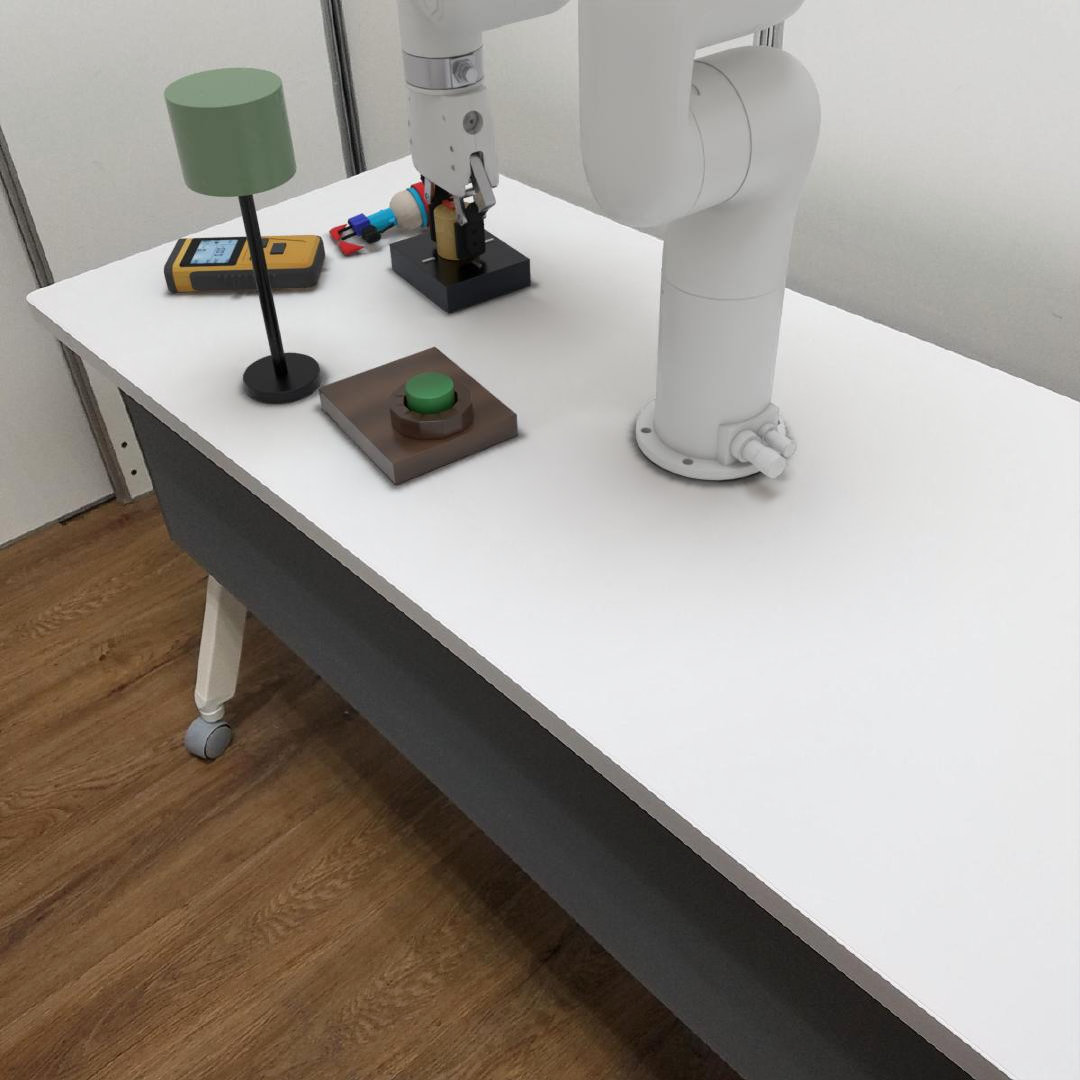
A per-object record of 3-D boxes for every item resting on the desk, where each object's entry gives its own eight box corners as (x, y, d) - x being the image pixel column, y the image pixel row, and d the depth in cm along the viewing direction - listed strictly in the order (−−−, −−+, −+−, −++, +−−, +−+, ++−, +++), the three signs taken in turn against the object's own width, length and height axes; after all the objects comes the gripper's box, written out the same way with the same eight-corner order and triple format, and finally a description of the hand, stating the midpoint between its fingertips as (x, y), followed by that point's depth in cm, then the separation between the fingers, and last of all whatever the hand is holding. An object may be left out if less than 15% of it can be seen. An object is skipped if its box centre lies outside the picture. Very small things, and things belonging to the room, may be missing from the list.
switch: (463, 405, 95) (462, 387, 94) (422, 421, 94) (420, 403, 92) (439, 384, 98) (438, 367, 97) (398, 400, 96) (396, 382, 95)
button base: (518, 435, 98) (516, 396, 95) (395, 485, 93) (390, 445, 90) (437, 366, 107) (433, 328, 104) (321, 408, 102) (314, 370, 99)
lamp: (348, 388, 104) (300, 89, 87) (257, 421, 101) (188, 116, 83) (307, 347, 110) (254, 59, 93) (219, 377, 106) (147, 83, 89)
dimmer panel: (531, 285, 119) (530, 257, 117) (448, 313, 114) (446, 285, 112) (471, 244, 126) (469, 217, 124) (392, 269, 122) (388, 242, 120)
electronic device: (317, 294, 119) (312, 265, 117) (168, 297, 119) (160, 268, 117) (328, 257, 125) (323, 228, 123) (186, 260, 125) (179, 231, 123)
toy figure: (352, 271, 125) (472, 220, 128) (337, 230, 122) (461, 179, 125) (332, 249, 131) (447, 201, 134) (317, 210, 128) (436, 161, 131)
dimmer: (487, 252, 118) (484, 208, 115) (451, 264, 116) (447, 220, 113) (465, 237, 121) (462, 194, 118) (429, 249, 119) (425, 205, 116)
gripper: (526, 81, 102) (533, 267, 114) (433, 37, 113) (448, 210, 125) (455, 100, 99) (469, 288, 111) (366, 52, 110) (388, 228, 122)
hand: (458, 245), depth 118 cm, fingers closed on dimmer, 4 cm apart
